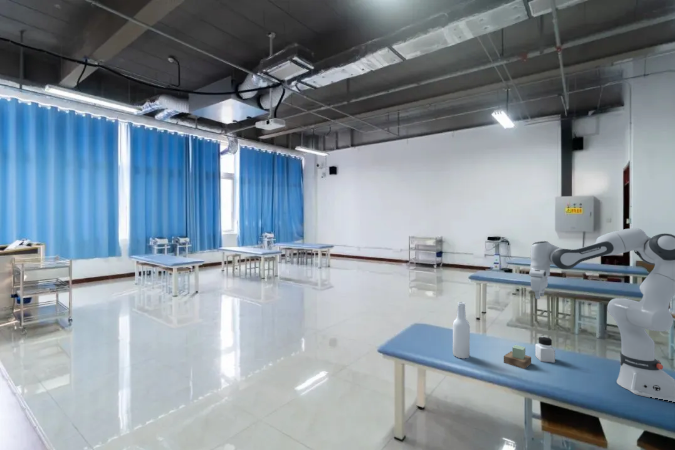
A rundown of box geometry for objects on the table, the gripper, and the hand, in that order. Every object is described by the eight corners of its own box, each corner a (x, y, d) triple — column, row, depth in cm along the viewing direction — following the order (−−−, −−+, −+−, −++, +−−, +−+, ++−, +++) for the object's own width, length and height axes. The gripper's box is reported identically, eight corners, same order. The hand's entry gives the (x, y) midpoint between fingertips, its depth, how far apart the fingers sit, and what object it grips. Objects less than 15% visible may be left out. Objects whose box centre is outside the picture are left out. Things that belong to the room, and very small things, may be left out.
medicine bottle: (555, 362, 170) (555, 340, 170) (540, 361, 172) (540, 339, 172) (549, 357, 177) (549, 335, 177) (535, 356, 179) (535, 334, 179)
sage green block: (525, 356, 169) (525, 347, 169) (523, 359, 166) (523, 349, 166) (514, 354, 173) (514, 344, 173) (512, 356, 169) (512, 347, 169)
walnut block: (531, 364, 169) (531, 356, 169) (524, 369, 163) (524, 362, 163) (511, 358, 177) (511, 351, 177) (503, 363, 170) (503, 355, 170)
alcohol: (467, 360, 172) (467, 305, 172) (450, 356, 177) (451, 303, 177) (471, 355, 180) (471, 302, 180) (454, 351, 185) (455, 300, 185)
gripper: (537, 269, 179) (537, 293, 179) (528, 272, 165) (528, 299, 164) (550, 270, 175) (550, 295, 175) (542, 274, 160) (542, 301, 160)
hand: (539, 297), depth 170 cm, fingers open, 8 cm apart
